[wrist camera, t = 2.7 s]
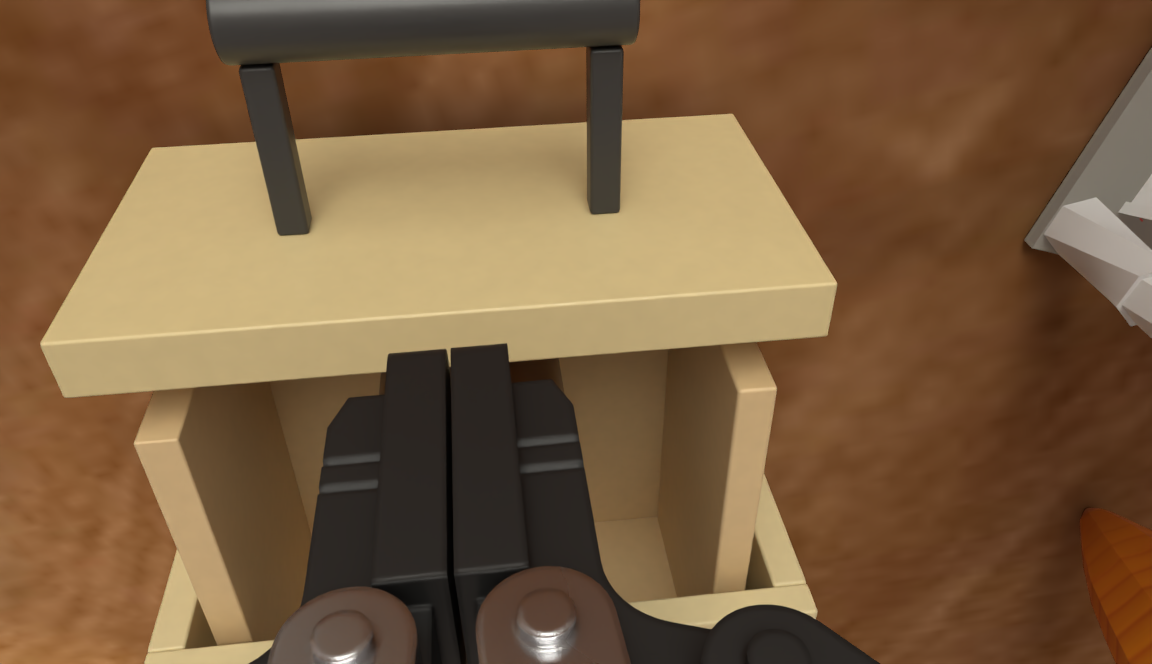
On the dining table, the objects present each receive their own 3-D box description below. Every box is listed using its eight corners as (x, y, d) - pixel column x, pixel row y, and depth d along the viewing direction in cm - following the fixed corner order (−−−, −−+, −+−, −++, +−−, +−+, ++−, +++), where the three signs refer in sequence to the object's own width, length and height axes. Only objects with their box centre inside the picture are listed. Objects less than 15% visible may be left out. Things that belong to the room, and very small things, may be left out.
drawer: (80, -76, 18) (-94, 61, 12) (754, -102, 19) (892, 11, 13) (275, 542, 29) (233, 770, 23) (694, 502, 30) (755, 709, 24)
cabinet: (220, 398, 26) (136, 685, 19) (720, 357, 28) (819, 611, 20) (313, 686, 35) (280, 957, 28) (688, 645, 36) (750, 894, 29)
